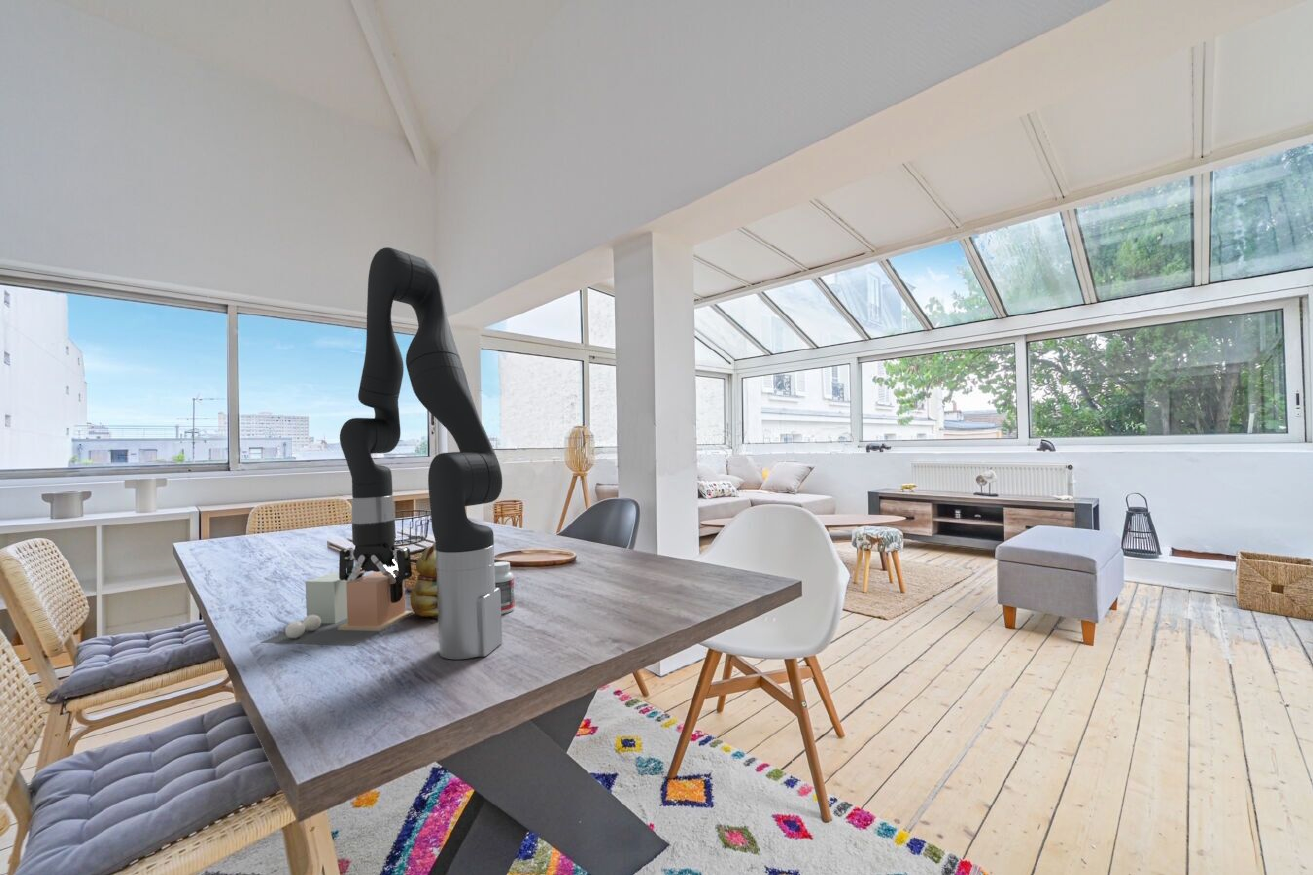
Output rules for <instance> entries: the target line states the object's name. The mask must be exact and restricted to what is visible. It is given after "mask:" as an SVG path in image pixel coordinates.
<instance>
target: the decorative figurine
mask: <svg viewBox="0 0 1313 875" xmlns="http://www.w3.org/2000/svg"><path fill="white" fill-rule="evenodd" d="M436 568H437V567H436V543H434V544H433V545H430V546H428V547H426V548H425V549H423V551H422V554H421V555H420V556H419V557H418V558H417V560H416V562H415V569H416V572H417V573H418V575H417V581H416V582H415V584H414V585H413V586H412V587H413V588H412V589H411V593H410V605H411V609H412V611H414V613H415V614H414V615H417V616H420V618H432V619H433V620H438V599H437V571H436Z"/></svg>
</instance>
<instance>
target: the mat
mask: <svg viewBox="0 0 1313 875" xmlns="http://www.w3.org/2000/svg"><path fill="white" fill-rule="evenodd" d="M413 615H416V614H415V613H414V611H413V610H405V613H403V614H401V615H399V616H397V617H395V618H393V619H391V620H389V621H387V622H385V623H383V624H381V625H379V626H348V620H347V619H344V620H342V621H340V622H338V623H321V625H320V626H319V628H318V629H316V630H314V631H306V630H305V632H304V633H303V635H302V636H300V637H299V638H296V639H291V638H289V637H287V636H286V633H285V631H284V632H282V633H280V634H277V635H275V636H272V637H270V638H268V639H265V640H263V641H260V643H261V644H262V643H266V644H290V645H291V644H292V645H293V644H295V645H321V646H348V647H349V646H351V647H352V646H353V647H355V646H357V645H358V644H361V643H362V642H364V641H367V640H368V639H370V638H372V637H374V636H375V635H378V634H379V633H381V632H384V631H386V629H387V630H388V629H389V628H391V627H392V626H395V625H396V624H398V623H400V622H402V621H404V620H405V619H407V618H409V617H411V616H413Z"/></svg>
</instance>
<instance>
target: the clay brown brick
mask: <svg viewBox="0 0 1313 875" xmlns="http://www.w3.org/2000/svg"><path fill="white" fill-rule="evenodd" d="M390 584H392V583H391V582H390V580H389V579H388V578H387V576H385V575H383V574H382V572H381V571H380V572H375V571H373V572H371V573H369V574H366V575H363V577H360V578H357V579H355V580H352V581H349V582H346V592H347V620H348V626H379V625H381V624H383V623H385V622H387V621H389V620H391V619H393V618H395V617H397V616H399V615H401V614H403V613H405V611H406V595H405V594H406V593H405V592H406V590H405V580H403V596H402V598H401V600H400V601H398V602H396V603H391V596H390Z"/></svg>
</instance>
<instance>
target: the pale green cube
mask: <svg viewBox="0 0 1313 875" xmlns="http://www.w3.org/2000/svg"><path fill="white" fill-rule="evenodd" d="M346 582H348V581H346V580H340V579H339V573H337V572H335V573H333V572H331V573H327V574H324V575H321V576H318V577H316V578H312V579H309V580H306V581H305V598H306V599H305V601H306V603H305V604H306V617H307V616H309V615H317V616H319V617H320V619H321V623H338V622H340V621H342V620H344V619H347V592H346Z"/></svg>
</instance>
